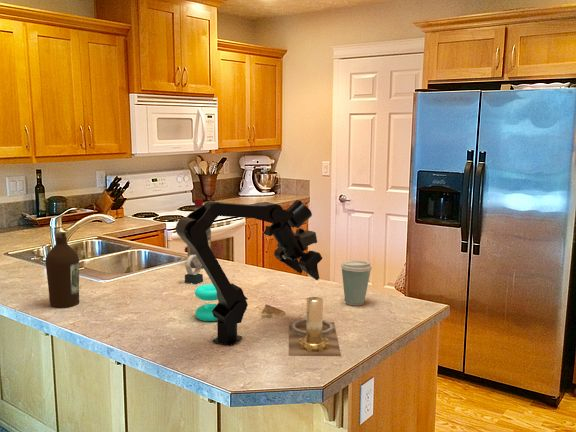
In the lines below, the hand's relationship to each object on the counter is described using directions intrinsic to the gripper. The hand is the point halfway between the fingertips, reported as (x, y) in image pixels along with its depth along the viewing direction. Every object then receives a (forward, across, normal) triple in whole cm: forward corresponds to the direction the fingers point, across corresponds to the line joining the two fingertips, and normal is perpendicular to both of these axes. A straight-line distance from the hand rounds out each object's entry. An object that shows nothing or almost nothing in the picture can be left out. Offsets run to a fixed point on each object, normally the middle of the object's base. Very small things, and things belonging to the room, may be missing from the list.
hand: (309, 275), depth 171 cm
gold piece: (+6, -18, +17) cm, 26 cm away
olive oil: (-22, +58, +60) cm, 87 cm away
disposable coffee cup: (+27, +8, -12) cm, 31 cm away
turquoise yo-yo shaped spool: (-1, +21, +29) cm, 35 cm away
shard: (+10, +14, +14) cm, 22 cm away
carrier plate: (+9, -13, +15) cm, 21 cm away
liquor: (+12, +85, +9) cm, 87 cm away
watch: (+5, +62, +20) cm, 65 cm away
